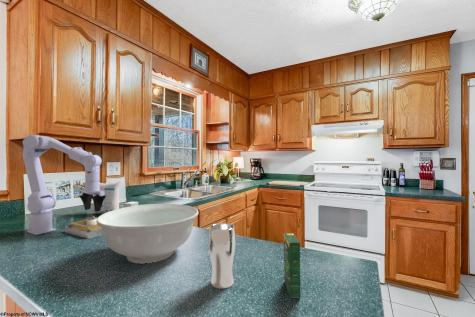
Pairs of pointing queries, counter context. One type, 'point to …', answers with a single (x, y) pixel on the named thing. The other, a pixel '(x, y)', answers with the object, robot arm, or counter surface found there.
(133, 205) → the skincare box
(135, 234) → the bowl
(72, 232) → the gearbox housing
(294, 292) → the coffee box
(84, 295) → the counter surface
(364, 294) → the counter surface
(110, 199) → the pouch
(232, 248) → the silver metal tumbler
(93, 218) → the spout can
